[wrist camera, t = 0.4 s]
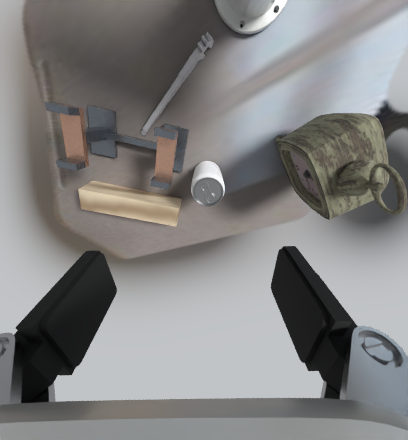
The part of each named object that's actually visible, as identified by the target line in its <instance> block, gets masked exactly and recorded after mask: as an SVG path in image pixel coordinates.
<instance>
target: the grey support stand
mask: <svg viewBox="0 0 408 440" xmlns="http://www.w3.org/2000/svg"><path fill="white" fill-rule="evenodd" d="M45 106H46V110H48V111H53V112H57V113H60V119H61V125H62V131H63V137H64V144H65V150H66V156H67V158H63V159H60V160H56V162H57V167H61V168H66V169H71V170H76V171H77V170H80V169H82V168H85V167H87V166H89V161H88V152H87V144H90V143H91V149H92V153H95V154H100V155H104V156H109V157H114V158H116V157H117V141H120V142H124V143H128V144H133V145H137V146H142V147H146V148H151V149H155V150H157V153H156V165H155V176H154V177H153V179H152V180H151V186H154V187H159V188H164V189H169V187H170V185H171V182H172V175H173V170H174V171H178V172H182V169H183V162H184V156H185V149H186V143H187V136H188V129H184V128H180V127H176V126H172V125H168V124H164V128H162V127H157V128H155V130H154V135H155V136H158V140H157V143H155V142H151V141H147V140H142V139H138V138H134V137H129V136H125V135H121V134H116V112H114V111H110V110H106V109H102V108H98V107H94V106H89V105H87V107H88V117H89V128H85V124H84V114H83V108H79V107H75V106H71V105H67V104H62V103H53V102H45Z"/></svg>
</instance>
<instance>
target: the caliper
mask: <svg viewBox="0 0 408 440" xmlns="http://www.w3.org/2000/svg"><path fill="white" fill-rule="evenodd" d="M213 40H214V39H213V38H212V36H211V35H210V34H209V33H208V32H207V33H206V34H205V36H204V35H203V36H202V41H199V42H198V43H197V44H198V47H196V49H195V50H194V52H193V53H192V55H191V56H190V58H189V59H188V61H187V62H186V64H185V65H184V67H183V68H182V70H181V71H180V73H179V75H178V77H177V78H176V80H175V81H174V83H173V84H172V85H171V87H170V88H169V90H168V91H167V93H166V94H165V96H164V97H163V99H162V100H161V102H160V103H159V105H158V106H157V108H156V109H155V111H154V112H153V114H152V115H151V117H150V118H149V120H148V121H147V123H146V124H145V126H144V127H143V128H142V131H141V134H142V135H143V136H145V135H146V133H147V132H148V131H149V130H150V128H151V127H152V126H153V124H154V123H155V121H156V120H157V119H158V117H159V116H160V114H161V113H162V112H163V110H164V109H165V107H166V106H167V104H168V103H169V102H170V100H171V99H172V97H173V96H174V94H175V93H176V92H177V90H178V89H179V87H180V86H181V85H182V83H183V82H184V80H185V79H187V77H188V76H189V74H190V73H191V72H192V70H193V69H194V67H195V65H196V64H197V62H198V61H200V60H202V59H203V58H204V57H205V56H206V55H205V54H204V52H205V50H206V49H207V48H208V47H209V48H212V46H213Z"/></svg>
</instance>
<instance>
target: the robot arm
mask: <svg viewBox="0 0 408 440" xmlns="http://www.w3.org/2000/svg"><path fill="white" fill-rule="evenodd" d="M287 1H288V0H214V3H215V6H216V8H217V11H218V13H219V15H220V16H221V18H222V20H223V21H224V22H225V23H226V25H227V26H228V27H229V28H231V29H232V30H234V31H235V32H238V33H241V34H254V33H257V32H260V31H262V30H264V29H265V28H267V27H268V26H269V25H270V24H271V23H272V22H273V21H274V20H275V19H276V18H277V17H278V15H279V14H280V13H281V11H282V10H283V8H284V6H285V5H286V3H287ZM274 10H275V11H276V13H274ZM240 25H242V26H243V28H240ZM271 290H272V293H273V295H274V298H275V300H276V303H277V305H278V308H279V310H280V312H281V315H282V317H283V320H284V322H285V324H286V327H287V329H288V332H289V334H290V337H291V339H292V341H293V344H294V346H295V349H296V351H297V354H298V356H299V358H300V360H301V361H302V362H303V363H305V364H306V366H307V369H308V371H319V373H320V375H321V377H322V379H323V380H324V383H323V388H322V393H321V398H236V399H169V400H114V401H113V400H112V401H66V402H55V391H54V381H55V379H56V377H57V375H72V373H73V371H74V369H75V368H76V366H78V365H79V364H80V363H81V362H82V359H83V358H84V356H85V354H86V352H87V350H88V348H89V346H90V344H91V342H92V340H93V338H94V336H95V334H96V332H97V330H98V328H99V326H100V324H101V322H102V321H103V319H104V317H105V315H106V313H107V311H108V309H109V307H110V305H111V303H112V301H113V299H114V297H115V295H116V292H117V288H116V285H115V283H114V280H113V278H112V275H111V272H110V269H109V267H108V264H107V261H106V259H105V256H104V254H102V253H101V252H100V251H86V252H85V253H84V254H83V255H82V256H81V257H80V258H79V259H78V260H77V261H76V263H75V264H74V265H73V266H72V267H71V268H70V269H69V270H68V271H67V272H66V274H64V276H63V277H62V278H61V279H60V280H59V281H58V282H57V283H56V284H55V285H54V286H53V288H52V289H51V290H50V291H49V292H48V293H47V294H46V295H45V296H44V297H43V299H42V300H41V301H40V302H39V303H38V304H37V305H36V306H35V307H34V308H33V309H32V310H31V311H30V313H29V314H28V315H27V316H26V317H25V318H24V319H23V320H22V321H21V322H20V323H19V325H18V326H17V327H16V329H17V330H18V331H17V332H16V333H15V334H14V335H13V334H12V333H2V334H0V440H408V357H407V355H406V354H405V352H404V351H403V349H402V348H401V347H400V346H399V345H398V344H397V343H396V342H395V341H394V340H393V339H391V338H390V337H389V336H388V335H386V334H384V333H383V332H381V331H379V330H377V329H374V328H372V327H367V326H357V325H356V324H355V323H354V321H353V320H352V319H351V317H350V316H349V315H348V313H347V312H346V311H345V310H344V308H343V307H342V306H341V304H340V303H339V301H338V300H337V299H336V298H335V296H334V295H333V294H332V292H331V291H330V290H329V289H328V287H327V286H326V284H325V283H324V282H323V281H322V279H321V278H320V277H319V275H318V274H317V273H315V271H314V270H313V269H312V267H311V266H310V265H309V263H308V262H307V261H306V260H305V258H304V257H303V256H302V254H301V253H300V252H299V250H298V249H297V248H296V247H295V246H285V247H283V248H282V249H280V250H279V252H278V256H277V261H276V265H275V270H274V274H273V279H272V283H271Z"/></svg>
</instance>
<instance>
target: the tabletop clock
mask: <svg viewBox="0 0 408 440" xmlns="http://www.w3.org/2000/svg"><path fill="white" fill-rule="evenodd" d="M275 142H276V145H277V149H278V152H279V155H280V158H281V160H282V163H283V165H284V168H285V170H286V172H287V175H288V177H289V179H290V182H291V184H292V186H293V188H294V190H295V192H296V193H297V194H298V195H299V197H300V198H301V199H302V200H303V201H304V202H305V203H306V204H308V205H309V206H310V207H311V208H312V209H313V210H315V211H316V212H317V213H319V214H320V215H321V216H323V217H324V218H326V219H329V220H330V219H332V218H334V217H336V216H339V215H341V214H343V213H345V212H348V211H350V210H352V209H354V208H356V207H359V206H361V205H363V204H365V203H368V202H370V201H372V200H374V199H375V201H376V203H377V204H378V205H379V206H380V207H381V208H382V209H383V210H384V211H385V212H387V213H389V214H393V215H397V214H400V213H402V212H403V211H404V210H405V208H406V205H407V191H406V187H405V183H404V182H403V180H402V178H401V176H400V175H399V174H398V172H397V171H396V170H395V169H394V168H392V167H391V166H389V165H388V155H387V149H386V143H385V138H384V132H383V129H382V126H381V124H380V122H379V120H378V118H376V117H374V116H371V115H367V114H360V113H333V114H326V115H321V116H318V117H316V118H314V119H313V120H311V121H309V122H308V123H306V124H305V125H303V126H301V127H300V128H298V129H297V130H295V131H293V132H292V133H290V134H288V135H287V136H285V137H284V138H283V136H280V135H279V136H277V137H276V139H275ZM389 175H390V176H391V178H392V179H393V181H394V184H395V186H396V191H397V196H398V207H397V209H396V210H393V211H392V210H390V209H388V208H387V207H386V206H385V204H384V203H383V201H382V198H381V196H380V194H381V193H382V192H383V190H384V189H385V187H386V186H387V184H388V181H389Z"/></svg>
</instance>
